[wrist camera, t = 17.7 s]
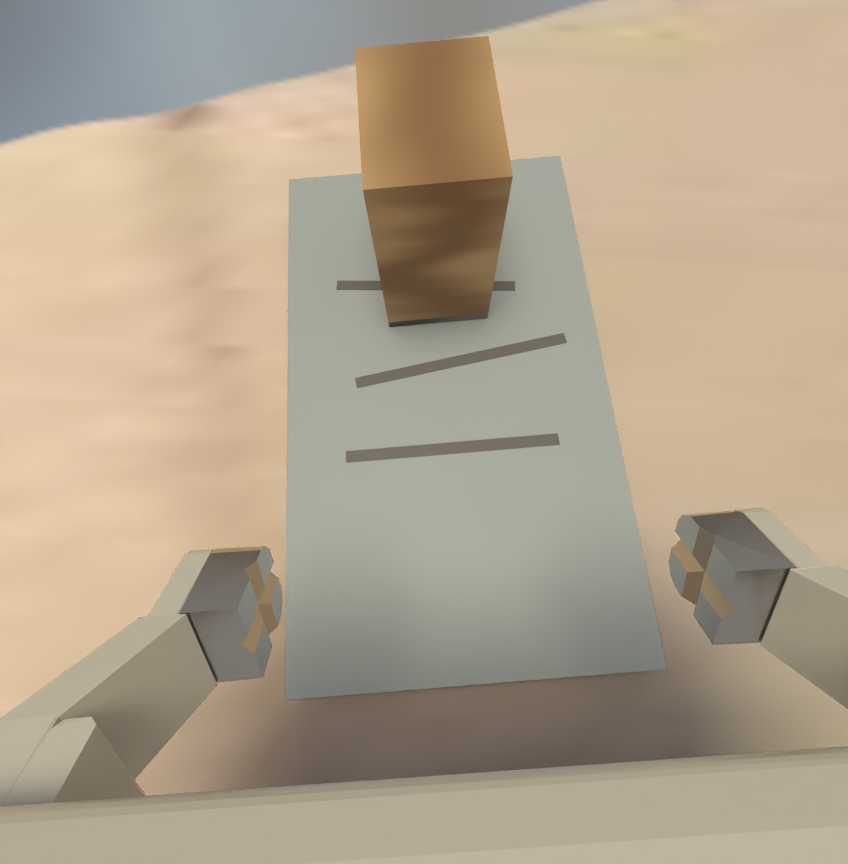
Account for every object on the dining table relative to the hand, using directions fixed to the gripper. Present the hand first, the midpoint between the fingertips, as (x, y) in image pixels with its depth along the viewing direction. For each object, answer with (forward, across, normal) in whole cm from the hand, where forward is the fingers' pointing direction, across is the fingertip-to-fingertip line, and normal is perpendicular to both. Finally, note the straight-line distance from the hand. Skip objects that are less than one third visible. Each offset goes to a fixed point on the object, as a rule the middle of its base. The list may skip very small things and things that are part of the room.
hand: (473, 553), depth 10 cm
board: (+13, 0, -2) cm, 14 cm away
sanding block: (+16, 0, +3) cm, 17 cm away
